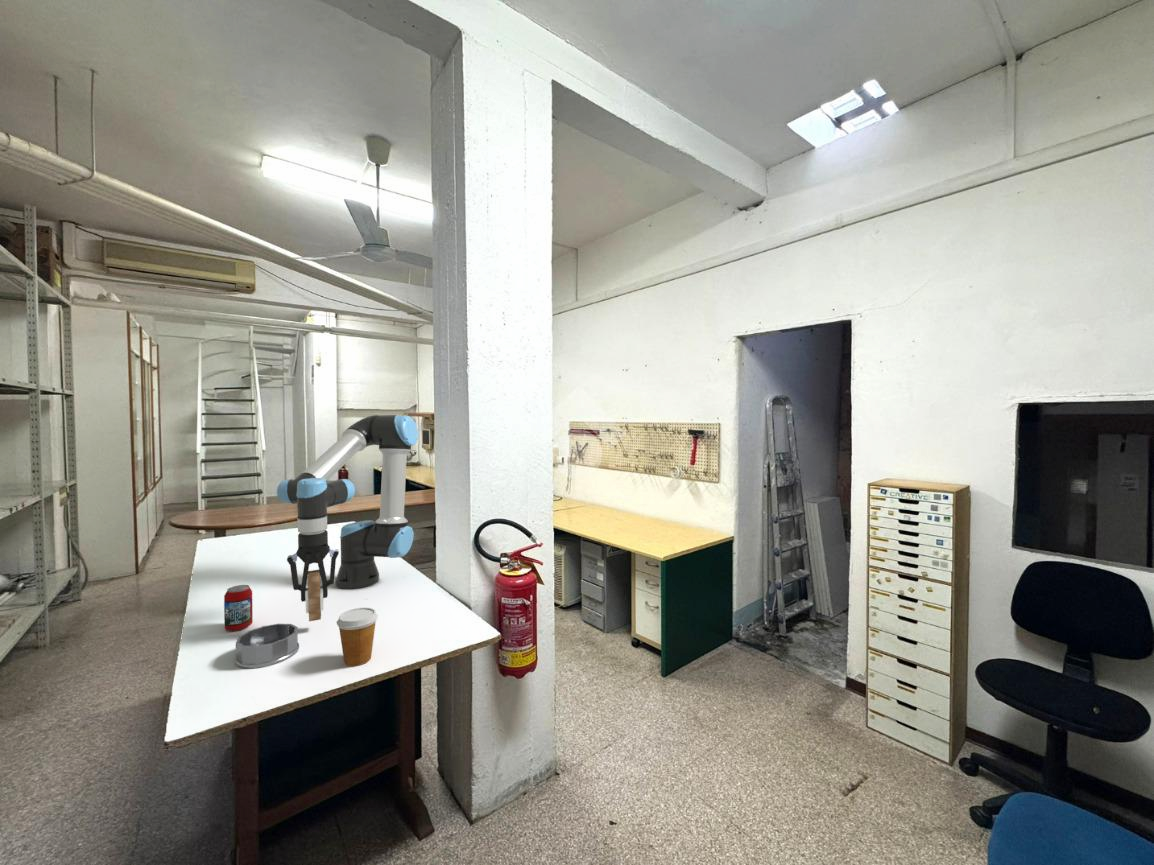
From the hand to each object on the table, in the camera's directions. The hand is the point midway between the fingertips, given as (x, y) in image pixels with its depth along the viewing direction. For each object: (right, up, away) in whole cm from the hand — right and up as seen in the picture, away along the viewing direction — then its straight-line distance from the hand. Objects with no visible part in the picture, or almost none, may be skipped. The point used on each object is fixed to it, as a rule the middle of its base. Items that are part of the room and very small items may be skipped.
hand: (314, 609), depth 134 cm
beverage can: (-24, -6, +2) cm, 25 cm away
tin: (-4, -6, -14) cm, 16 cm away
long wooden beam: (0, -3, 0) cm, 3 cm away
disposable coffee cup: (+21, -7, -17) cm, 27 cm away
